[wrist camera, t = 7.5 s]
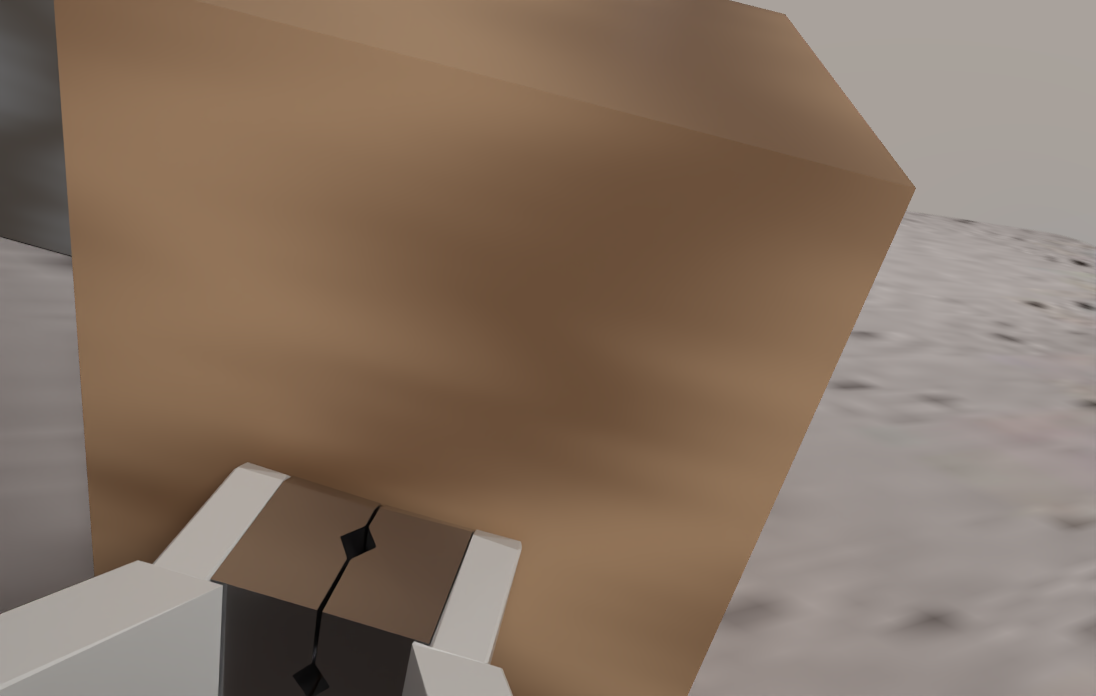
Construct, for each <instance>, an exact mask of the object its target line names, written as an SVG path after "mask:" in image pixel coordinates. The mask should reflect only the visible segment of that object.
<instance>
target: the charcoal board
mask: <svg viewBox="0 0 1096 696" xmlns="http://www.w3.org/2000/svg"><path fill="white" fill-rule="evenodd" d="M0 236H2V237H5V238H9V239H13V240H16V241H20V242H23V243H27V244H31V245H34V246H38V247H41V248H45V249H49V250H52V251H56V252H59V253H63V254H67V255H70V256H72V251H71V237H70V223H69V209H68V195H67V181H66V166H65V152H64V138H63V124H62V110H61V96H60V82H59V68H58V54H57V39H56V25H55V11H54V0H0Z"/></svg>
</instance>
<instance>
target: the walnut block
mask: <svg viewBox="0 0 1096 696" xmlns="http://www.w3.org/2000/svg"><path fill="white" fill-rule="evenodd" d="M54 11H55V25H56V39H57V54H58V68H59V82H60V96H61V110H62V124H63V138H64V152H65V166H66V181H67V195H68V209H69V223H70V237H71V251H72V265H73V279H74V293H75V308H76V322H77V336H78V350H79V364H80V378H81V392H82V406H83V420H84V435H85V449H86V463H87V477H88V491H89V505H90V519H91V533H92V547H93V562H94V576H95V577H96V576H99V575H101V574H104V573H106V572H109V571H111V570H114V569H116V568H119V567H121V566H124V565H127V564H129V563H132V562H134V561H137V560H139V561H143V562H146V563H150V564H153V563H154V562H155V560H156V559H157V558H158V557H159V556H160V555H161V553H162V552H163V551H164V550H165V549H166V548H167V546H168V545H169V544H170V543H171V542H172V541H173V539H174V538H175V537H176V536H177V535H178V534H179V533H180V531H181V530H182V529H183V528H184V527H185V526H186V524H187V523H188V522H189V521H190V520H191V519H192V517H193V516H194V515H195V514H196V513H197V512H198V511H199V509H200V508H201V507H202V506H203V505H204V504H205V502H206V501H207V500H208V499H209V498H210V497H211V495H212V494H213V493H214V492H215V491H216V490H217V488H218V487H219V486H220V485H221V484H222V483H223V482H224V480H225V479H226V478H227V477H228V476H229V475H230V473H231V472H232V471H233V470H234V469H235V468H237V467H239V466H241V465H243V464H245V463H247V462H248V463H251V464H255V465H258V466H261V467H264V468H267V469H270V470H273V471H277V472H280V473H283V474H286V475H289V476H296V477H299V478H302V479H305V480H308V481H312V482H315V483H318V484H321V485H324V486H327V487H331V488H334V489H337V490H340V491H343V492H346V493H350V494H353V495H356V496H359V497H362V498H365V499H369V500H372V501H375V502H378V503H381V505H382V507H383V506H385V505H389V506H392V507H396V508H399V509H403V510H407V511H410V512H414V513H417V514H421V515H424V516H428V517H431V518H435V519H438V520H442V521H446V522H449V523H453V524H456V525H460V526H463V527H467V528H470V529H474V530H475V531H476V529H477V530H481V531H484V532H488V533H492V534H495V535H499V536H503V537H507V538H510V539H514V540H518V541H521V544H522V549H521V553H520V557H519V561H518V564H517V568H516V572H515V575H514V579H513V583H512V586H511V590H510V594H509V597H508V601H507V605H506V608H505V612H504V616H503V619H502V623H501V627H500V630H499V634H498V638H497V641H496V645H495V649H494V653H493V656H492V660H491V664H490V665H493V666H496V667H499V668H502V669H503V671H504V674H505V676H506V679H507V682H508V684H509V687H510V689H511V692H512V694H513V696H687V695H688V693H689V691H690V689H691V686H692V684H693V682H694V680H695V678H696V675H697V673H698V671H699V669H700V666H701V664H702V662H703V660H704V658H705V655H706V653H707V651H708V649H709V646H710V644H711V642H712V640H713V638H714V635H715V633H716V631H717V629H718V626H719V624H720V622H721V620H722V618H723V615H724V613H725V611H726V609H727V606H728V604H729V602H730V600H731V598H732V595H733V593H734V591H735V589H736V587H737V584H738V582H739V580H740V578H741V575H742V573H743V571H744V569H745V567H746V564H747V562H748V560H749V558H750V555H751V553H752V551H753V549H754V547H755V544H756V542H757V540H758V538H759V535H760V533H761V531H762V529H763V527H764V524H765V522H766V520H767V518H768V515H769V513H770V511H771V509H772V507H773V504H774V502H775V500H776V498H777V495H778V493H779V491H780V489H781V487H782V484H783V482H784V480H785V478H786V476H787V473H788V471H789V469H790V467H791V464H792V462H793V460H794V458H795V456H796V453H797V451H798V449H799V447H800V444H801V442H802V440H803V438H804V436H805V433H806V431H807V429H808V427H809V424H810V422H811V420H812V418H813V416H814V413H815V411H816V409H817V407H818V404H819V402H820V400H821V398H822V396H823V393H824V391H825V389H826V387H827V384H828V382H829V380H830V378H831V376H832V373H833V371H834V369H835V367H836V365H837V362H838V360H839V358H840V356H841V353H842V351H843V349H844V347H845V345H846V342H847V340H848V338H849V336H850V333H851V331H852V329H853V327H854V325H855V322H856V320H857V318H858V316H859V313H860V311H861V309H862V307H863V305H864V302H865V300H866V298H867V296H868V293H869V291H870V289H871V287H872V285H873V282H874V280H875V278H876V276H877V273H878V271H879V269H880V267H881V265H882V262H883V260H884V258H885V256H886V254H887V251H888V249H889V247H890V245H891V242H892V240H893V238H894V236H895V234H896V231H897V229H898V227H899V225H900V222H901V220H902V218H903V216H904V214H905V211H906V209H907V207H908V204H909V202H910V200H911V198H912V196H913V193H914V191H915V189H916V188H915V186H914V185H913V184H912V182H911V181H910V180H909V179H908V177H907V176H906V174H905V173H904V172H903V170H902V169H901V168H900V167H899V165H898V164H897V162H896V161H895V160H894V159H893V157H892V156H891V154H890V153H889V152H888V150H887V149H886V148H885V146H884V145H883V144H882V142H881V141H880V140H879V139H878V137H877V136H876V135H875V133H874V132H873V131H872V129H871V128H870V127H869V125H868V124H867V123H866V121H865V120H864V119H863V117H862V116H861V115H860V113H859V112H858V111H857V109H856V108H855V107H854V105H853V104H852V103H851V101H850V100H849V99H848V97H847V96H846V95H845V93H844V92H843V91H842V89H841V88H840V87H839V85H838V84H837V83H836V82H835V80H834V79H833V77H832V76H831V75H830V73H829V72H828V71H827V69H826V68H825V67H824V65H823V64H822V63H821V61H820V60H819V59H818V58H817V56H816V55H815V53H814V52H813V51H812V49H811V48H810V47H809V45H808V44H807V43H806V41H805V40H804V39H803V38H802V36H801V35H800V33H799V32H798V31H797V30H796V28H795V27H794V25H793V24H792V23H791V22H790V20H789V19H788V17H787V16H786V15H785V14H782V13H778V12H774V11H770V10H766V9H762V8H758V7H754V6H750V5H746V4H742V3H738V2H734V1H730V0H54Z"/></svg>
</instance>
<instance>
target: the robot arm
mask: <svg viewBox="0 0 1096 696" xmlns="http://www.w3.org/2000/svg"><path fill="white" fill-rule="evenodd" d="M521 549H522V544H521V541H518V540H514V539H510V538H507V537H503V536H499V535H495V534H492V533H488V532H484V531H481V530H477V529H476V531H475V530H474V529H470V528H467V527H463V526H460V525H456V524H453V523H449V522H446V521H442V520H438V519H435V518H431V517H428V516H424V515H421V514H417V513H414V512H410V511H407V510H403V509H399V508H396V507H392V506H389V505H385V506H383V507H382V505H381V503H378V502H375V501H372V500H369V499H365V498H362V497H359V496H356V495H353V494H350V493H346V492H343V491H340V490H337V489H334V488H331V487H327V486H324V485H321V484H318V483H315V482H312V481H308V480H305V479H302V478H299V477H296V476H289V475H286V474H283V473H280V472H277V471H273V470H270V469H267V468H264V467H261V466H258V465H255V464H251V463H248V462H247V463H245V464H243V465H241V466H239V467H237V468H235V469H234V470H233V471H232V472H231V473H230V475H229V476H228V477H227V478H226V479H225V480H224V482H223V483H222V484H221V485H220V486H219V487H218V488H217V490H216V491H215V492H214V493H213V494H212V495H211V497H210V498H209V499H208V500H207V501H206V502H205V504H204V505H203V506H202V507H201V508H200V509H199V511H198V512H197V513H196V514H195V515H194V516H193V517H192V519H191V520H190V521H189V522H188V523H187V524H186V526H185V527H184V528H183V529H182V530H181V531H180V533H179V534H178V535H177V536H176V537H175V538H174V539H173V541H172V542H171V543H170V544H169V545H168V546H167V548H166V549H165V550H164V551H163V552H162V553H161V555H160V556H159V557H158V558H157V559H156V560H155V562H154V563H153V564H150V563H146V562H143V561H139V560H137V561H134V562H132V563H129V564H127V565H124V566H121V567H119V568H116V569H114V570H111V571H109V572H106V573H104V574H101V575H99V576H96V577H93V578H91V579H88V580H86V581H83V582H81V583H78V584H76V585H73V586H70V587H68V588H65V589H63V590H60V591H58V592H55V593H53V594H50V595H47V596H45V597H42V598H40V599H37V600H35V601H32V602H30V603H27V604H24V605H22V606H19V607H17V608H14V609H12V610H9V611H7V612H4V613H2V614H0V696H513V694H512V692H511V689H510V687H509V684H508V682H507V679H506V676H505V674H504V671H503V669H502V668H499V667H496V666H493V665H490V664H491V660H492V656H493V653H494V649H495V645H496V641H497V638H498V634H499V630H500V627H501V623H502V619H503V616H504V612H505V608H506V605H507V601H508V597H509V594H510V590H511V586H512V583H513V579H514V575H515V572H516V568H517V564H518V561H519V557H520V553H521Z"/></svg>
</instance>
